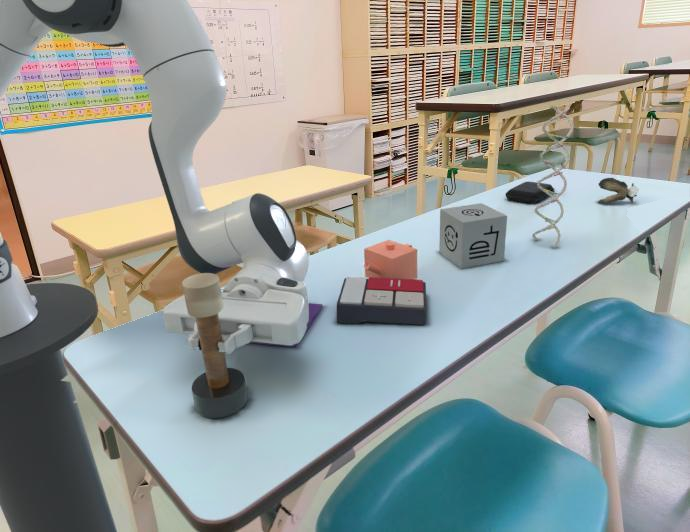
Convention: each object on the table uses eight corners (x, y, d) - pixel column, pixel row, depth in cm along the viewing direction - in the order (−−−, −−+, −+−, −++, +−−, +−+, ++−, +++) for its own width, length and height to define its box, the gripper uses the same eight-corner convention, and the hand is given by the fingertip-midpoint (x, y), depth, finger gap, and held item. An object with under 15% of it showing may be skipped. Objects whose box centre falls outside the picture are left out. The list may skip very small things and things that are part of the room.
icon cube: (503, 260, 110) (507, 215, 106) (461, 268, 107) (463, 222, 103) (479, 245, 118) (481, 203, 114) (439, 252, 116) (440, 209, 112)
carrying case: (538, 206, 143) (559, 194, 153) (539, 195, 142) (560, 183, 152) (502, 200, 150) (524, 189, 160) (503, 190, 148) (525, 179, 158)
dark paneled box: (426, 305, 85) (336, 300, 87) (425, 328, 87) (336, 322, 88) (425, 277, 95) (344, 273, 97) (424, 298, 97) (344, 294, 98)
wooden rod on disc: (185, 414, 68) (159, 290, 61) (211, 382, 74) (190, 267, 67) (233, 421, 66) (212, 295, 59) (256, 388, 72) (239, 270, 65)
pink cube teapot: (353, 286, 102) (351, 247, 99) (396, 268, 109) (395, 231, 106) (380, 298, 96) (379, 257, 93) (424, 279, 103) (424, 240, 100)
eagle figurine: (626, 192, 146) (594, 187, 147) (639, 175, 140) (606, 170, 141) (629, 213, 142) (596, 208, 143) (643, 196, 136) (609, 191, 137)
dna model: (567, 246, 115) (584, 105, 104) (543, 250, 114) (558, 108, 102) (547, 236, 121) (561, 103, 110) (524, 241, 119) (536, 105, 108)
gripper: (189, 274, 79) (133, 318, 67) (315, 284, 74) (280, 333, 62) (195, 311, 82) (142, 359, 70) (318, 322, 77) (284, 377, 64)
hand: (208, 347), depth 66 cm, fingers closed on wooden rod on disc, 3 cm apart
